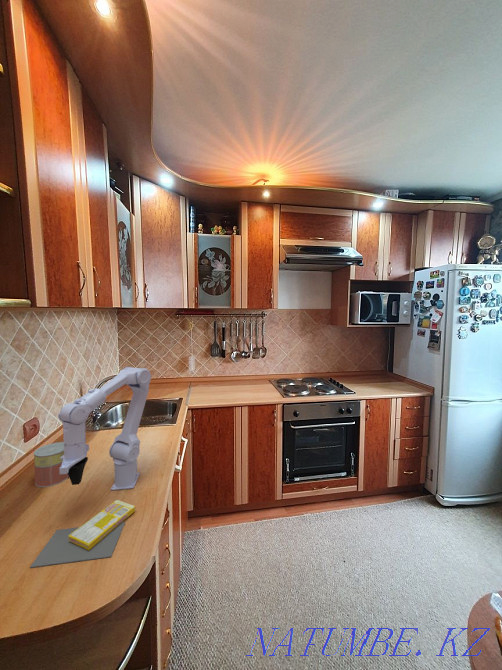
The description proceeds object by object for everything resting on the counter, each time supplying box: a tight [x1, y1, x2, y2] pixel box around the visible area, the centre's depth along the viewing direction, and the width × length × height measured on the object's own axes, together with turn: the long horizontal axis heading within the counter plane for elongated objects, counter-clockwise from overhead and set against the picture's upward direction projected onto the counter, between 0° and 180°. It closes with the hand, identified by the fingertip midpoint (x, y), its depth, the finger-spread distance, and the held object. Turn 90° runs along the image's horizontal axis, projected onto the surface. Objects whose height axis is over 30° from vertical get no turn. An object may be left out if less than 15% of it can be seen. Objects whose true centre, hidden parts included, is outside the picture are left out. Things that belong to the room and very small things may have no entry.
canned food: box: [33, 441, 69, 488], centre depth 104 cm, size 11×11×12 cm
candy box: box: [68, 499, 136, 550], centre depth 80 cm, size 16×2×8 cm
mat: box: [29, 521, 126, 569], centre depth 74 cm, size 12×19×1 cm, turn 99°
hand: (76, 483), depth 84 cm, fingers closed
